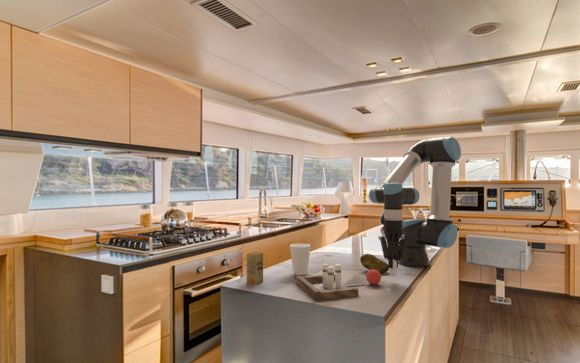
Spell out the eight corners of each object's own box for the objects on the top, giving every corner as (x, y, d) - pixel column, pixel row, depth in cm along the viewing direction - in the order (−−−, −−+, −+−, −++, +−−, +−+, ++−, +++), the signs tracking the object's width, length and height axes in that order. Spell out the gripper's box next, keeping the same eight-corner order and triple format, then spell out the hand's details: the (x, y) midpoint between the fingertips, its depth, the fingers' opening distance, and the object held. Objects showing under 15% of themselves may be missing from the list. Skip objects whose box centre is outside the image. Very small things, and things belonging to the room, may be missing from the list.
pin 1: (327, 285, 137) (327, 263, 137) (329, 287, 135) (329, 265, 135) (321, 286, 137) (321, 264, 137) (324, 288, 134) (323, 265, 134)
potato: (381, 275, 152) (381, 258, 152) (357, 270, 161) (357, 254, 162) (391, 272, 158) (390, 255, 158) (367, 267, 167) (367, 251, 167)
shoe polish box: (263, 281, 144) (263, 253, 144) (256, 284, 140) (256, 255, 140) (253, 280, 146) (253, 252, 147) (246, 282, 142) (246, 254, 142)
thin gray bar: (364, 284, 139) (364, 284, 139) (365, 285, 138) (365, 284, 138) (346, 286, 136) (346, 286, 136) (347, 287, 135) (347, 286, 135)
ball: (376, 281, 143) (376, 267, 143) (384, 285, 137) (384, 270, 137) (363, 282, 141) (363, 268, 141) (371, 286, 136) (370, 271, 136)
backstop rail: (333, 279, 146) (333, 272, 146) (358, 295, 125) (358, 287, 125) (296, 283, 141) (296, 276, 141) (315, 300, 120) (315, 291, 120)
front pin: (339, 286, 136) (339, 264, 136) (342, 288, 134) (342, 265, 134) (334, 287, 136) (333, 264, 136) (336, 289, 133) (336, 266, 133)
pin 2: (332, 289, 133) (332, 266, 133) (335, 291, 130) (334, 267, 130) (326, 290, 132) (326, 266, 132) (329, 291, 129) (329, 268, 130)
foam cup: (313, 272, 160) (313, 244, 160) (306, 276, 151) (305, 247, 151) (295, 269, 164) (295, 243, 164) (286, 274, 155) (286, 246, 155)
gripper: (401, 218, 148) (401, 272, 148) (374, 219, 144) (374, 274, 144) (411, 219, 141) (412, 276, 140) (384, 220, 137) (384, 279, 137)
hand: (393, 275), depth 142 cm, fingers closed
